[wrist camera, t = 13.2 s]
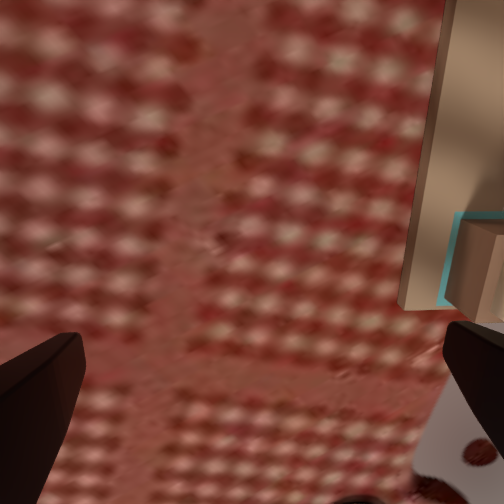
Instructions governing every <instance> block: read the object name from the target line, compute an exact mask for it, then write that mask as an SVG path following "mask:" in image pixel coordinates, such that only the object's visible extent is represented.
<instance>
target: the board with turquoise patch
mask: <svg viewBox="0 0 504 504" xmlns="http://www.w3.org/2000/svg"><path fill="white" fill-rule="evenodd" d="M461 219H504V0H446V3H445V9H444V15H443V22H442V28H441V34H440V40H439V46H438V52H437V59H436V65H435V71H434V77H433V83H432V89H431V96H430V102H429V108H428V114H427V120H426V127H425V133H424V139H423V145H422V151H421V157H420V164H419V170H418V176H417V182H416V188H415V195H414V201H413V207H412V213H411V219H410V225H409V232H408V238H407V244H406V250H405V256H404V262H403V269H402V275H401V281H400V287H399V293H398V300H397V304H398V305H399V306H400V307H401V308H402V309H403V310H404V311H406V310H440V309H457V308H456V307H454V306H453V305H452V304H451V303H449V302H448V301H447V300H446V299H445V298H444V295H445V290H446V286H447V281H448V276H449V272H450V267H451V262H452V258H453V253H454V248H455V244H456V239H457V234H458V230H459V225H460V220H461Z"/></svg>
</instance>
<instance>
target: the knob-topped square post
mask: <svg viewBox="0 0 504 504" xmlns="http://www.w3.org/2000/svg"><path fill="white" fill-rule="evenodd" d="M444 298H445V299H446V300H447V301H448V302H449V303H451V304H452V305H453V306H454V307H456V308H457V309H458V310H459V311H460V312H462V313H463V314H464V315H465V316H467V317H468V318H469V319H470V320H471V321H473V322H474V323H501V322H504V219H461V220H460V225H459V230H458V234H457V239H456V244H455V248H454V253H453V258H452V262H451V267H450V272H449V276H448V281H447V286H446V290H445V295H444Z"/></svg>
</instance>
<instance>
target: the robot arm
mask: <svg viewBox="0 0 504 504" xmlns="http://www.w3.org/2000/svg"><path fill="white" fill-rule="evenodd" d="M443 357H444V360H445V362H446V364H447V366H448V367H449V369H450V371H451V373H452V375H453V377H454V379H455V381H456V382H457V384H458V386H459V388H460V390H461V392H462V394H463V395H464V397H465V399H466V401H467V403H468V405H469V406H470V408H471V410H472V412H473V414H474V415H475V417H476V418H477V420H478V421H479V423H480V424H481V426H482V427H483V429H484V431H485V432H486V433H487V435H488V437H489V438H490V440H491V441H492V443H493V444H494V446H495V447H496V449H497V450H498V452H499V453H500V455H501V456H502V458H503V459H504V334H502V333H500V332H497V331H494V330H491V329H488V328H486V327H483V326H481V325H478V324H475V323H472V322H470V321H452V322H450V323H449V325H448V327H447V331H446V336H445V340H444V345H443ZM85 370H86V360H85V353H84V347H83V341H82V337H81V335H80V334H79V333H77V332H68V333H60V334H58V335H56V336H54V337H52V338H50V339H48V340H47V341H45V342H43V343H41V344H39V345H37V346H35V347H34V348H32V349H30V350H28V351H26V352H24V353H22V354H20V355H19V356H17V357H15V358H13V359H11V360H9V361H7V362H6V363H4V364H2V365H0V504H36V503H37V501H38V498H39V496H40V494H41V491H42V489H43V487H44V484H45V482H46V480H47V478H48V475H49V473H50V471H51V468H52V466H53V464H54V461H55V459H56V457H57V454H58V452H59V450H60V447H61V445H62V443H63V440H64V438H65V435H66V433H67V430H68V427H69V424H70V421H71V418H72V414H73V411H74V408H75V404H76V401H77V398H78V394H79V391H80V388H81V385H82V381H83V378H84V375H85Z"/></svg>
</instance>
